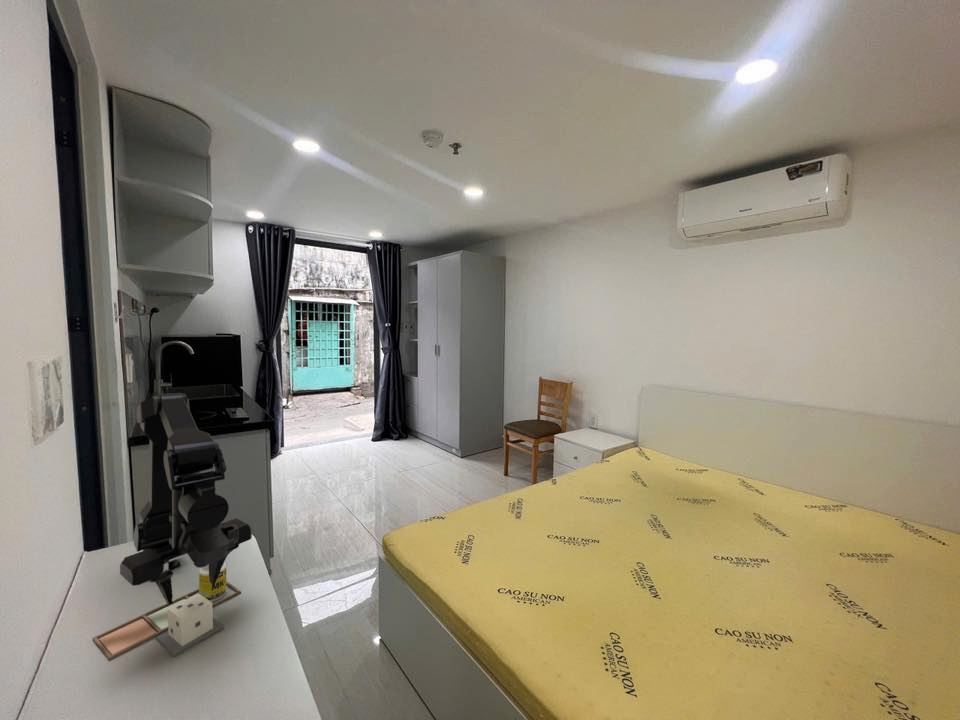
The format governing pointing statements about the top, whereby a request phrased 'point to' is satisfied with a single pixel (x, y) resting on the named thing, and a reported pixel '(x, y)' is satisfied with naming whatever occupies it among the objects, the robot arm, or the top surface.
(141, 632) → the tray
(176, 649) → the mat
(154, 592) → the top surface
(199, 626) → the die
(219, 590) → the supplement bottle
